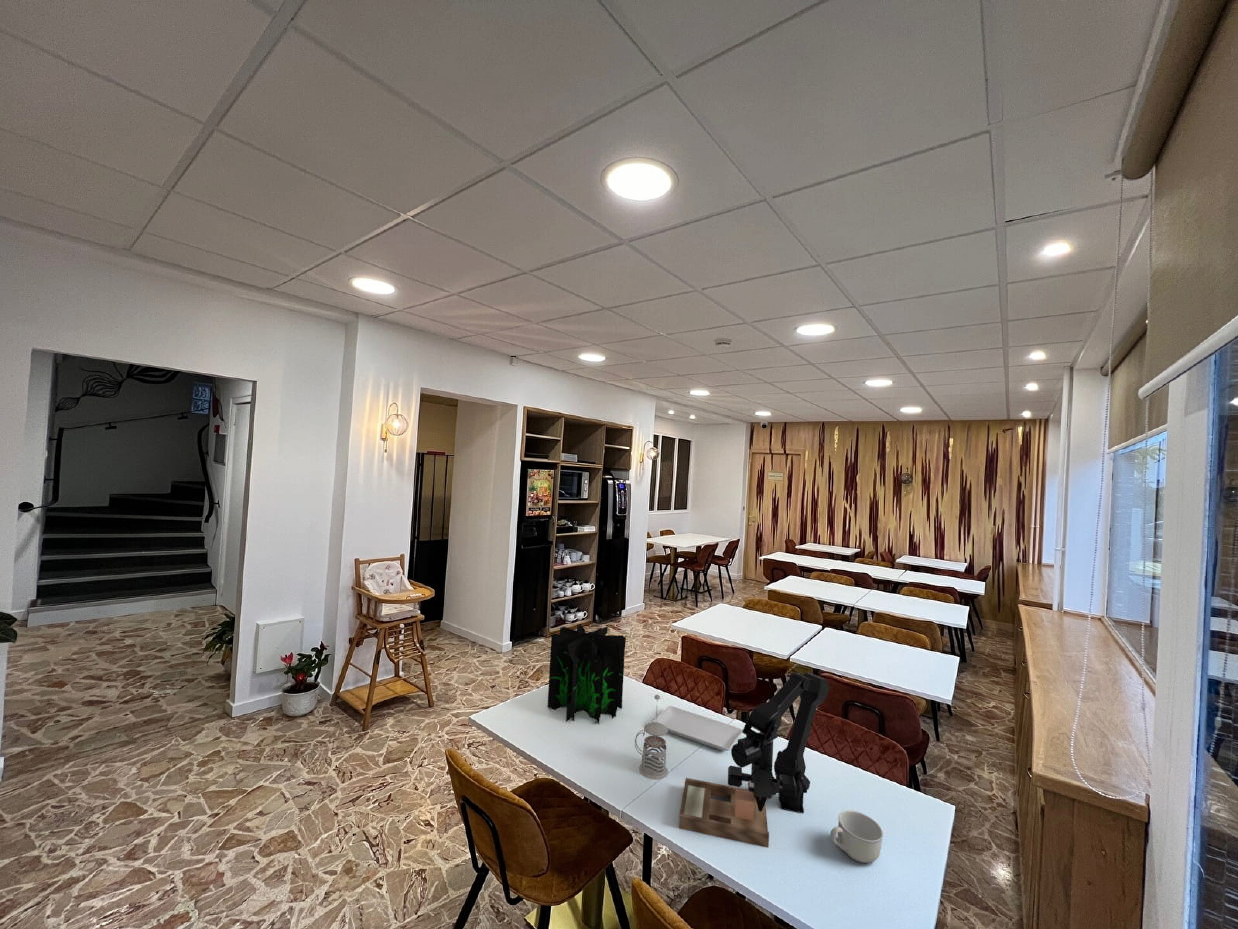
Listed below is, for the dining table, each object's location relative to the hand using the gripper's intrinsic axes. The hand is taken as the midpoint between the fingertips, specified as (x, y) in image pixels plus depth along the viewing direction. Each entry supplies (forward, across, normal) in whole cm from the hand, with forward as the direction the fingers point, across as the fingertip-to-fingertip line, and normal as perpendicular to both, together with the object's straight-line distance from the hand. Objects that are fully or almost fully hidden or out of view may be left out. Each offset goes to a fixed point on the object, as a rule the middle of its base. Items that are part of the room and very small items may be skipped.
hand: (760, 810), depth 142 cm
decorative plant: (+3, -68, +51) cm, 85 cm away
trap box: (+4, -10, 0) cm, 11 cm away
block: (+2, -4, 0) cm, 5 cm away
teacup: (+4, +24, -5) cm, 25 cm away
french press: (+4, -34, +16) cm, 38 cm away
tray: (+4, -21, +45) cm, 49 cm away
